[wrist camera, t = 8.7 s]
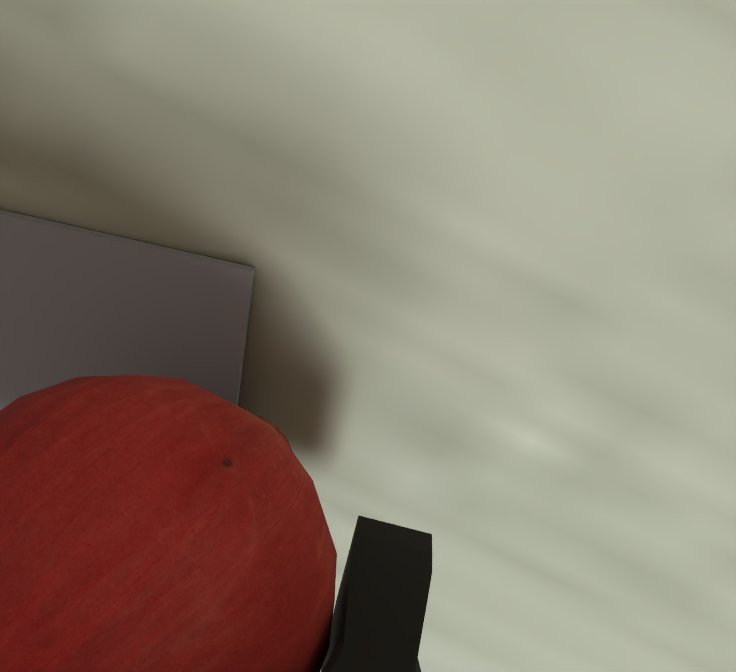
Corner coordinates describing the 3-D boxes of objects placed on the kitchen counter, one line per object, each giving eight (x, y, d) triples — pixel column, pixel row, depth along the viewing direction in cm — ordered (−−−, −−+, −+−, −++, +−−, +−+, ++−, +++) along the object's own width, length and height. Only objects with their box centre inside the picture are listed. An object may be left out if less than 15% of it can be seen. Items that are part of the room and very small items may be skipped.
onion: (262, 592, 14) (-115, 1088, 8) (94, 373, 14) (-471, 720, 7) (482, 525, 11) (136, 1304, 4) (274, 229, 10) (-494, 642, 4)
